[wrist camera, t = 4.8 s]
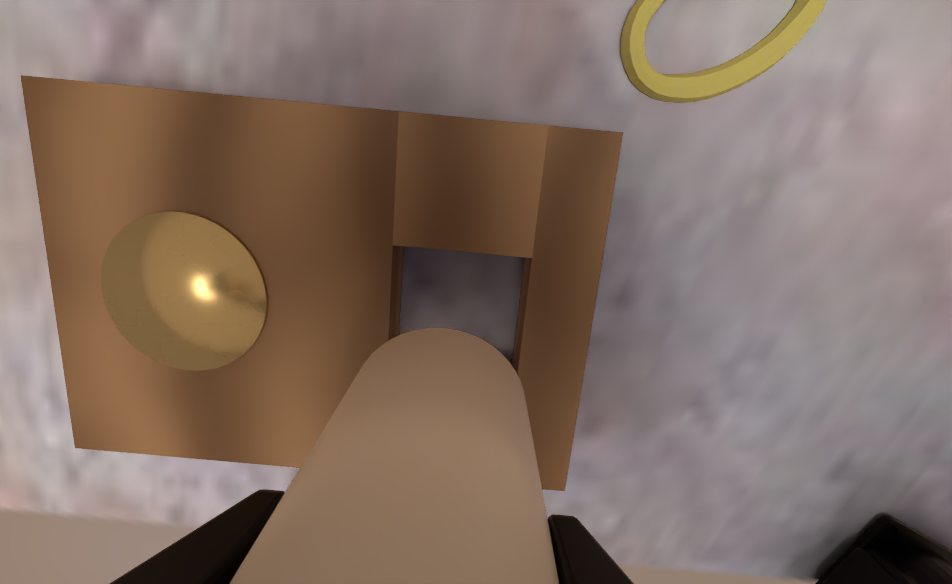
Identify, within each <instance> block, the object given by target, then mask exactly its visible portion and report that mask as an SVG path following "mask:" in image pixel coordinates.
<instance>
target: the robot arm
mask: <svg viewBox="0 0 952 584" xmlns="http://www.w3.org/2000/svg"><path fill="white" fill-rule="evenodd" d="M284 493H285V492H284V491H275V490H259V491H257V492H255V493H253V494H252V495H250V496H248V497H247V498H245V499H244V500H242V501H240V502H239V503H237V504H236V505H234V506H232V507H231V508H229V509H228V510H226V511H224V512H223V513H221V514H220V515H218V516H216V517H215V518H213V519H212V520H210V521H209V522H207V523H205V524H204V525H202V526H201V527H199V528H197V529H196V530H194V531H193V532H191V533H189V534H188V535H186V536H185V537H183V538H182V539H180V540H178V541H177V542H175V543H173V544H172V545H171V546H169V547H167V548H166V549H164V550H162V551H161V552H159V553H158V554H156V555H154V556H153V557H151V558H150V559H148V560H147V561H145V562H143V563H142V564H140V565H139V566H137V567H135V568H134V569H132V570H131V571H129V572H127V573H126V574H124V575H123V576H121V577H119V578H118V579H116V580H115V581H113V582H111V583H110V584H230V582H231V580H232V579H233V577H234V575H235V574H236V572H237V570H238V569H239V567H240V565H241V564H242V562H243V561H244V559H245V557H246V556H247V554H248V552H249V551H250V549H251V547H252V546H253V544H254V543H255V541H256V539H257V538H258V536H259V534H260V533H261V531H262V529H263V528H264V526H265V525H266V523H267V521H268V520H269V518H270V516H271V515H272V513H273V511H274V510H275V508H276V507H277V505H278V503H279V502H280V500H281V498H282V497H283V495H284ZM548 525H549V531H550V536H551V542H552V547H553V553H554V558H555V563H556V569H557V574H558V580H559V584H634V583H633V582H632V581H631V580H630V579H629V578H628V576H626V574H625V573H624V572H623V571H622V570H621V568H620V567H619V566H618V565H617V564H616V563H615V562H614V560H613V559H612V558H611V557H610V556H609V555H608V553H607V552H606V551H605V550H604V549H603V548H602V547H601V545H600V544H599V543H598V542H597V541H596V540H595V539H594V537H593V536H592V535H591V534H590V533H589V532H588V530H587V529H586V528H585V527H584V526H583V525H582V524H581V522H580V521H579V520H578V519H577V518H575V517H573V516H564V515H551V516H550V517H549V518H548ZM816 584H952V551H951V550H949V549H948V548H946V547H944V546H942V545H941V544H939V543H937V542H935V541H934V540H932V539H930V538H928V537H927V536H925V535H923V534H921V533H920V532H918V531H916V530H914V529H913V528H911V527H909V526H907V525H906V524H904V523H902V522H900V521H899V520H897V519H895V518H893V517H891V516H883V517H880V518H879V519H878V520H876V522H875V523H874V524H873V525H872V526H871V527H870V528H869V529H868V530H867V531H866V532H865V533H864V534H863V535H862V536H861V537H860V538H859V539H858V540H857V541H856V542H855V543H854V544H853V545H852V546H851V547H850V548H849V549H848V551H847V552H846V553H845V554H844V555H843V556H842V557H841V558H840V559H839V560H838V561H837V562H836V563H835V564H834V565H833V566H832V567H831V568H830V569H829V570H828V571H827V572H826V573H825V574H824V575H823V576H822V577H821V578H820V580H819V581H818V582H817V583H816Z"/></svg>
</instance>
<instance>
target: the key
mask: <svg viewBox="0 0 952 584" xmlns="http://www.w3.org/2000/svg"><path fill="white" fill-rule="evenodd" d="M664 1H665V0H638V1H637V2H636V4H635V5H634V7H633V8H632V10H631V11H630V13H629V14H628V17H627V19H626V22H625V25H624V28H623V32H622V37H621V58H622V61H623V65H624V69H625V71H626V73H627V75H628V77H629V80H630V81H631V82H632V83H633V84H634V85H635V86H636V87H637V88H638V89H639V90H640V91H641V92H643V93H645V94H646V95H648V96H649V97H651V98H654V99H658V100H661V101H667V102H678V103H681V102H695V101H700V100H705V99H709V98H712V97H715V96H718V95H721V94H723V93H726V92H728V91H731V90H733V89H735V88H737V87H740V86H742V85H743V84H745V83H747V82H749V81H750V80H752V79H754V78H756V77H757V76H759V75H760V74H762V73H763V72H765V71H766V70H768V69H769V68H771V67H772V66H773V65H774V64H776V63H777V62H778V61H779V60H780V59H782V58H783V57H784V56H785V55H786V54H787V53H788V52H789V51H790V50H791V49H792V48H793V47H794V46H795V45H796V44H797V43H798V41H799V40H800V39H801V38H802V37H803V36H804V35H805V33H806V32H807V31H808V30H809V29H810V27H811V26H812V25H813V23H814V22H815V20H816V19H817V17H818V16H819V14H820V13H821V11H822V10H823V7H824V5H825V2H826V0H796V1H795V4H794V6H793V8H792V9H791V10H790V12H789V13H788V14H787V16H786V17H785V18H784V19H783V20H782V21H781V22H780V24H779V25H778V26H777V27H776V28H775V29H774V30H773V31H772V32H771V33H770V34H769V35H768V36H767V37H766V38H764V39H763V40H762V41H760V42H759V43H758V44H756V45H755V46H754V47H752V48H751V49H749V50H748V51H747V52H745V53H743V54H742V55H740V56H738V57H736V58H734V59H732V60H730V61H728V62H726V63H724V64H722V65H720V66H717V67H714V68H711V69H707V70H704V71H700V72H697V73H690V74H674V75H669V74H660V73H658V72H656V71H655V70H654V69H653V68H652V67H651V66H650V65H649V63H648V61H647V59H646V54H645V48H644V37H645V32H646V28H647V25H648V23H649V21H650V18H651V17H652V16H653V14H654V13H655V12H656V10H657V9H658V8H659V7H660V5H661V4H662V3H663V2H664Z"/></svg>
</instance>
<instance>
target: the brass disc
mask: <svg viewBox="0 0 952 584" xmlns="http://www.w3.org/2000/svg"><path fill="white" fill-rule="evenodd" d="M101 289H102V295H103V299H104V303H105V306H106V308H107V311H108V313H109V315H110V317H111V319H112V321H113V322H114V324H115V326H116V327H117V328H118V330H119V331H120V333H121V334H122V335H123V336H124V337H125V338H126V339H127V340H128V341H129V342H130V343H131V344H132V345H133V346H134V347H135V348H136V349H138V350H139V351H140V352H142V353H143V354H145V355H146V356H148V357H150V358H151V359H153V360H155V361H157V362H159V363H162V364H164V365H167V366H170V367H173V368H177V369H183V370H192V371H201V370H210V369H215V368H219V367H222V366H225V365H227V364H229V363H231V362H233V361H235V360H236V359H238V358H239V357H241V356H242V355H243V354H245V353H246V352H247V351H248V350H249V349H250V348H251V347H252V346H253V344H254V343H255V342H256V341H257V339H258V337H259V336H260V334H261V332H262V330H263V327H264V325H265V322H266V317H267V312H268V293H267V287H266V282H265V279H264V276H263V273H262V271H261V269H260V267H259V264H258V263H257V261H256V259H255V258H254V256H253V254H252V253H251V252H250V250H249V249H248V248H247V247H246V245H245V244H244V243H243V242H242V241H241V240H240V239H239V238H238V237H237V236H236V235H234V234H233V233H232V232H231V231H229V230H228V229H227V228H225V227H223V226H222V225H220V224H219V223H217V222H215V221H213V220H211V219H208V218H206V217H203V216H200V215H197V214H193V213H188V212H179V211H168V212H158V213H153V214H149V215H146V216H143V217H140V218H138V219H136V220H134V221H132V222H131V223H129V224H128V225H126V226H125V227H124V228H122V229H121V230H120V231H119V232H118V234H117V235H116V236H115V237H114V238H113V240H112V241H111V243H110V244H109V246H108V248H107V250H106V252H105V255H104V258H103V262H102V267H101Z"/></svg>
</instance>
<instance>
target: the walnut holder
mask: <svg viewBox="0 0 952 584" xmlns="http://www.w3.org/2000/svg"><path fill="white" fill-rule="evenodd" d="M21 81H22V87H23V94H24V101H25V108H26V115H27V122H28V129H29V135H30V142H31V149H32V156H33V163H34V170H35V177H36V183H37V190H38V197H39V204H40V211H41V218H42V224H43V231H44V238H45V245H46V252H47V259H48V266H49V272H50V279H51V286H52V293H53V300H54V307H55V314H56V320H57V327H58V334H59V341H60V348H61V355H62V361H63V368H64V375H65V382H66V389H67V396H68V403H69V409H70V416H71V423H72V430H73V437H74V444H75V448H82V449H93V450H104V451H116V452H127V453H138V454H150V455H161V456H173V457H184V458H195V459H207V460H218V461H229V462H241V463H252V464H263V465H275V466H286V467H297V468H300V467H301V466H302V464H303V462H304V461H305V459H306V457H307V456H308V454H309V452H310V451H311V449H312V448H313V446H314V444H315V443H316V441H317V439H318V438H319V436H320V434H321V433H322V431H323V430H324V428H325V426H326V425H327V423H328V421H329V420H330V418H331V416H332V415H333V413H334V411H335V410H336V408H337V407H338V405H339V403H340V402H341V400H342V398H343V397H344V395H345V393H346V392H347V390H348V389H349V387H350V385H351V384H352V382H353V380H354V379H355V377H356V375H357V374H358V372H359V371H360V369H361V367H362V366H363V364H364V363H365V361H366V360H367V359H368V358H369V357H370V356H371V354H372V353H373V352H374V351H375V350H377V349H378V348H379V347H380V346H381V345H383V344H384V343H386V342H387V341H389V340H391V339H392V338H394V337H397V336H399V324H400V305H401V286H402V266H403V247H404V246H407V247H417V248H428V249H439V250H450V251H461V252H471V253H482V254H493V255H504V256H515V257H525V259H524V267H523V276H522V284H521V292H520V301H519V309H518V318H517V326H516V334H515V343H514V351H513V359H512V360H509V359H507V360H508V361H509V362H510V364H511V365H512V367H513V368H514V369H515V371H516V373H517V375H518V377H519V379H520V381H521V384H522V387H523V390H524V394H525V399H526V405H527V410H528V416H529V421H530V427H531V432H532V438H533V443H534V449H535V454H536V459H537V465H538V470H539V476H540V481H541V487H542V489H547V490H558V491H565V486H566V480H567V474H568V468H569V461H570V455H571V449H572V443H573V437H574V431H575V425H576V418H577V412H578V406H579V400H580V394H581V388H582V382H583V375H584V369H585V363H586V357H587V351H588V345H589V339H590V332H591V326H592V320H593V314H594V308H595V302H596V296H597V289H598V283H599V277H600V271H601V265H602V259H603V253H604V246H605V240H606V234H607V228H608V222H609V216H610V210H611V203H612V197H613V191H614V185H615V179H616V173H617V167H618V160H619V154H620V148H621V142H622V136H623V133H621V132H611V131H600V130H590V129H579V128H569V127H558V126H548V125H537V124H527V123H516V122H506V121H495V120H485V119H474V118H464V117H453V116H443V115H432V114H421V113H411V112H400V111H390V110H379V109H369V108H358V107H348V106H337V105H327V104H316V103H306V102H295V101H285V100H274V99H264V98H253V97H243V96H232V95H222V94H211V93H201V92H190V91H180V90H169V89H159V88H148V87H138V86H127V85H116V84H106V83H95V82H85V81H74V80H64V79H53V78H43V77H32V76H22V75H21ZM168 211H179V212H188V213H193V214H197V215H200V216H203V217H206V218H208V219H211V220H213V221H215V222H217V223H219V224H220V225H222V226H223V227H225V228H227V229H228V230H229V231H231V232H232V233H233V234H234V235H236V236H237V237H238V238H239V239H240V240H241V241H242V242H243V243H244V244H245V245H246V247H247V248H248V249H249V250H250V252H251V253H252V254H253V256H254V258H255V259H256V261H257V263H258V264H259V267H260V269H261V271H262V273H263V276H264V279H265V282H266V287H267V293H268V312H267V317H266V322H265V325H264V327H263V330H262V332H261V334H260V336H259V337H258V339H257V341H256V342H255V343H254V344H253V346H252V347H251V348H250V349H249V350H248V351H247V352H246V353H245V354H243V355H242V356H241V357H239V358H238V359H236V360H235V361H233V362H231V363H229V364H227V365H225V366H222V367H219V368H215V369H210V370H201V371H192V370H183V369H177V368H173V367H170V366H167V365H164V364H162V363H159V362H157V361H155V360H153V359H151V358H150V357H148V356H146V355H145V354H143V353H142V352H140V351H139V350H138V349H136V348H135V347H134V346H133V345H132V344H131V343H130V342H129V341H128V340H127V339H126V338H125V337H124V336H123V335H122V334H121V333H120V331H119V330H118V328H117V327H116V326H115V324H114V322H113V321H112V319H111V317H110V315H109V313H108V311H107V308H106V306H105V303H104V299H103V295H102V289H101V267H102V262H103V258H104V255H105V252H106V250H107V248H108V246H109V244H110V243H111V241H112V240H113V238H114V237H115V236H116V235H117V234H118V232H119V231H120V230H121V229H122V228H124V227H125V226H126V225H128V224H129V223H131V222H132V221H134V220H136V219H138V218H140V217H143V216H146V215H149V214H153V213H158V212H168Z"/></svg>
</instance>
